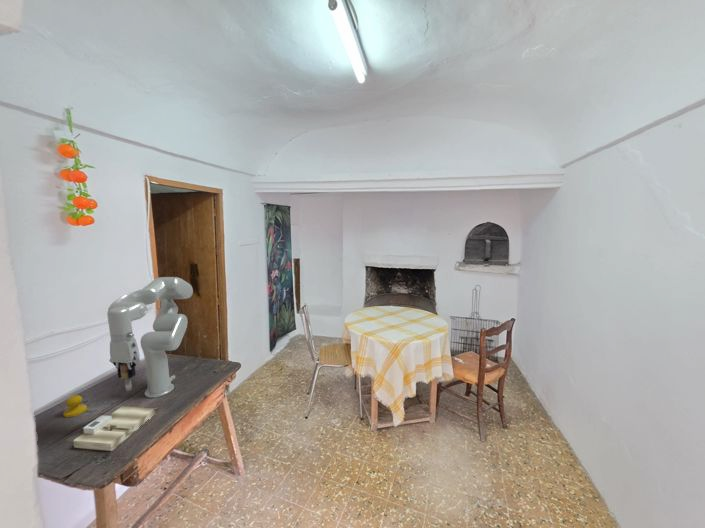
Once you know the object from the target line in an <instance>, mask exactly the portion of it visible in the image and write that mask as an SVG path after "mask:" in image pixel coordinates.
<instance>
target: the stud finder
mask: <svg viewBox="0 0 705 528" xmlns="http://www.w3.org/2000/svg"><path fill="white" fill-rule="evenodd" d="M110 422H112V417H111V416H109V415H103V414H102V415H99V416H98V417H97V418H96V419H94V420H93V421H91V422H90V423H88V424H87V425H85V426H84V427H83V428H82V429H83V430H82V431H83V433H85V434H95V433H97V432H98V431H99V430H101V429H102V428H103V427H105V426H106V425H108V424H109V423H110Z"/></svg>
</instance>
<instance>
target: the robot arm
mask: <svg viewBox="0 0 705 528" xmlns="http://www.w3.org/2000/svg"><path fill="white" fill-rule="evenodd" d="M193 293H194V290H193V286H192V284H190V282H187V281H185V280H184V279H183V278H181V277H176V276H164V277H163V276H162V277H161V276H159V277H157V278H155V279H154V280H152V281H151V282H149V283H148V284H147V285H146V286H144V287H143V288H141V289H138V290H135V291H133V292H130V293H127V294H125V295H122V296H120V297H119V298H117V299H115V301H113V302H112V303H111V304H110V305H109V307H108V310H107V322H108V328H109V330H108V331H109V337H110V342H109V356H110V358H109V362H110V363H111V364H112V365H114V366H115V369H116V370H117V377H118V379H120V378H121V371H120V364H121V363H127V366H128V370H127V371H128V378H131V379H132V378H133V377H135V376H136V367H137V365H138V364H140V363H142V360H141V358H140V348H141V349H142V353H143V357H144V364H145V374H146V383H147V389H146V390H144V396H145V397H146V398H150V399H153V398H154V399H155V398H159V397H163V396H166V395H168V394H169V393H172V391H173V390H174V387H175V386H174V384H173V383H172V381H174V380H175V379H176V375H171V376H170V372H169V371H170V370H169V362H168V354H167V353H166V351H176V350H177V349H178V348H179V346H181V343H182V341H183V337H184V335H185V333H186V330H187V328H188V318H187V317H188V316H186V315H185V314H182V313H178V312H179V307H178V305H177V304H176V302H175V301H174V300H187V299H191V298H192V296H193V295H194V294H193ZM158 300H160V309H159V311H158V313H157V315H156V317H155V319H154V321H153V323H152V330H154V331H149V332H145V333H143V335H142V336H141V338H140V348H139V345H138V343H137V340H136V338H135V334H133V326H132V322H133V321H137V320H140V319H142V318H143V317H145V316H146V314H147V313H148V307H147V306H149V305H153V304H154V303H156V302H157V301H158ZM121 379H122V378H121Z"/></svg>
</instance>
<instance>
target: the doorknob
mask: <svg viewBox="0 0 705 528" xmlns="http://www.w3.org/2000/svg"><path fill="white" fill-rule="evenodd" d="M82 401H83V397H82V395H81V396H80V395H79V394H77V395H72V396H70V397H68V398H67V399H66V401H65V405H66V406H67V407H68V408H67V409H65V411H64V412H63V417H65V418H73V417H76V416H80V415H81V414H83V413H84V412H86V411H87V409H88V406H87V405H86V404H81V403H82Z"/></svg>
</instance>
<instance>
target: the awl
mask: <svg viewBox="0 0 705 528" xmlns="http://www.w3.org/2000/svg"><path fill="white" fill-rule="evenodd" d="M127 370H128V366H127V363H121V364H120V371H121V380H123V381H124V386H125V391H126V392H128V391H129V392H130V391H131V390H133V389H132V388H133V385H132V378H128V371H127Z"/></svg>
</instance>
